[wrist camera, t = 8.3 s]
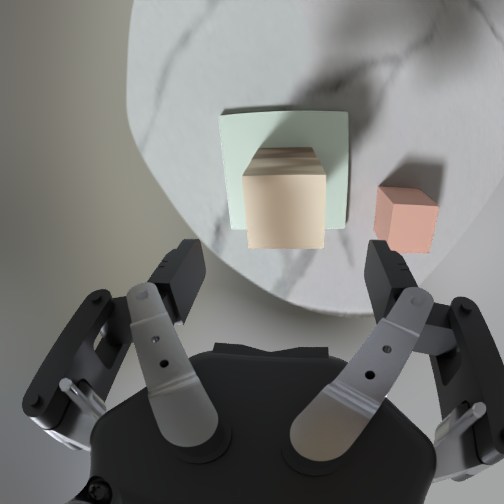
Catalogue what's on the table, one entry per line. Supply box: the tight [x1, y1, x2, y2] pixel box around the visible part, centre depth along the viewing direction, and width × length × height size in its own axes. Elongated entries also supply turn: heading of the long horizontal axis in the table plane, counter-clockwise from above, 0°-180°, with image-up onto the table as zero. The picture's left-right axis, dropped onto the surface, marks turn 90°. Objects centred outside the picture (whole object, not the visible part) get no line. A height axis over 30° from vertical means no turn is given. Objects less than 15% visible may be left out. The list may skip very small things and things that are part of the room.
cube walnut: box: [251, 147, 317, 160], centre depth 23 cm, size 5×5×5 cm
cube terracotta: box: [373, 186, 439, 253], centre depth 24 cm, size 5×5×5 cm
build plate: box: [218, 111, 349, 229], centre depth 26 cm, size 12×12×1 cm
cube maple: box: [242, 158, 326, 249], centre depth 19 cm, size 5×5×5 cm
